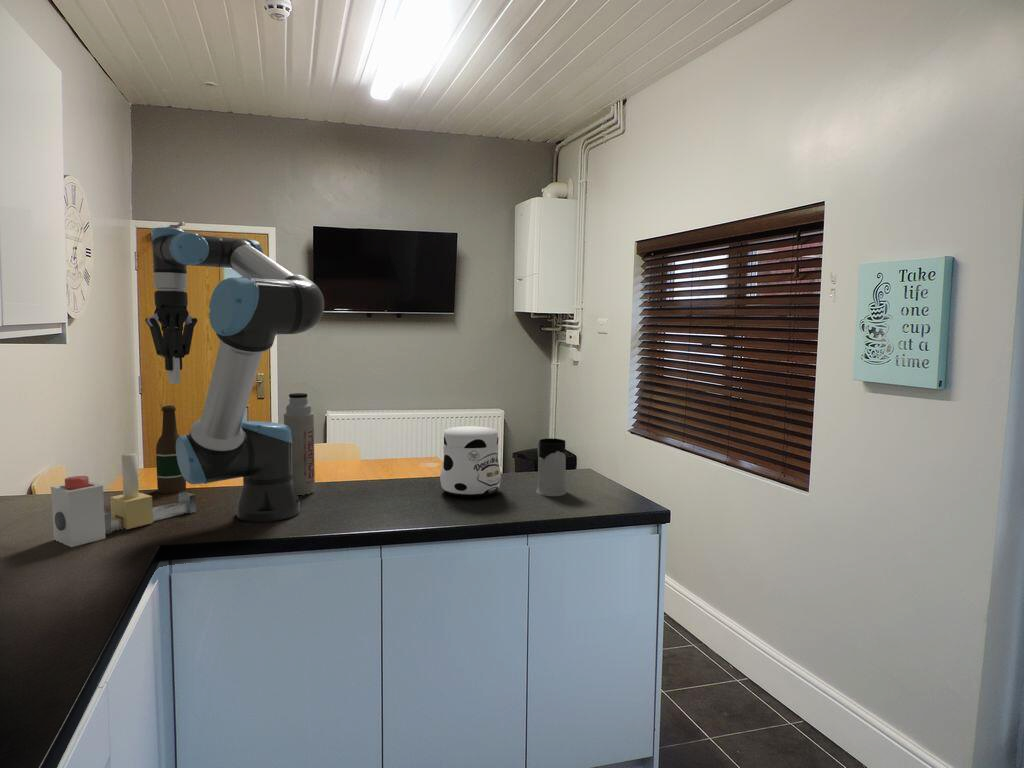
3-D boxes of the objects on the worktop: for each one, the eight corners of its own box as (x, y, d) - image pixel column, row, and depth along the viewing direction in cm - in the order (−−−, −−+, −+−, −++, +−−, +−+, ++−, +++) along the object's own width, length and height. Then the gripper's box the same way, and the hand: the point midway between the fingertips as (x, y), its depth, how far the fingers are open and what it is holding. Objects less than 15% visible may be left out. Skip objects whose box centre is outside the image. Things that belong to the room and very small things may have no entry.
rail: (196, 512, 172) (195, 494, 171) (104, 535, 153) (103, 515, 153) (184, 508, 174) (184, 491, 174) (93, 530, 156) (92, 511, 156)
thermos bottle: (320, 491, 193) (319, 393, 190) (298, 497, 186) (296, 396, 184) (301, 487, 197) (300, 391, 194) (279, 493, 191) (277, 393, 188)
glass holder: (543, 497, 190) (544, 444, 189) (524, 485, 203) (525, 435, 202) (571, 494, 193) (572, 442, 192) (551, 482, 207) (552, 434, 205)
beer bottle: (163, 487, 195) (160, 404, 193) (191, 486, 196) (188, 404, 193) (151, 494, 187) (147, 408, 185) (180, 494, 188) (177, 408, 186)
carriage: (153, 522, 162) (150, 454, 160) (127, 529, 157) (124, 459, 155) (137, 517, 165) (134, 450, 164) (111, 523, 160) (108, 455, 159)
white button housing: (105, 538, 151) (103, 485, 150) (69, 547, 145) (66, 492, 144) (87, 531, 156) (85, 480, 154) (51, 540, 149) (48, 486, 148)
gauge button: (93, 495, 150) (92, 477, 150) (71, 499, 146) (70, 481, 146) (83, 492, 152) (82, 474, 152) (61, 496, 149) (60, 478, 148)
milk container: (499, 501, 185) (500, 436, 183) (436, 500, 185) (436, 435, 184) (501, 485, 202) (502, 426, 201) (443, 484, 203) (444, 425, 201)
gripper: (185, 291, 180) (188, 380, 182) (137, 289, 169) (141, 384, 171) (203, 291, 176) (206, 382, 178) (155, 289, 165) (159, 386, 167)
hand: (174, 383), depth 175 cm, fingers closed
